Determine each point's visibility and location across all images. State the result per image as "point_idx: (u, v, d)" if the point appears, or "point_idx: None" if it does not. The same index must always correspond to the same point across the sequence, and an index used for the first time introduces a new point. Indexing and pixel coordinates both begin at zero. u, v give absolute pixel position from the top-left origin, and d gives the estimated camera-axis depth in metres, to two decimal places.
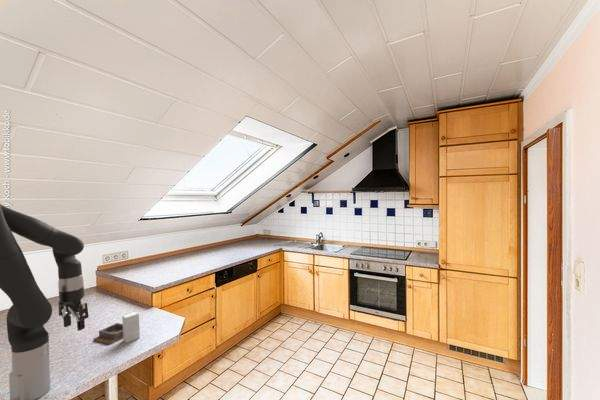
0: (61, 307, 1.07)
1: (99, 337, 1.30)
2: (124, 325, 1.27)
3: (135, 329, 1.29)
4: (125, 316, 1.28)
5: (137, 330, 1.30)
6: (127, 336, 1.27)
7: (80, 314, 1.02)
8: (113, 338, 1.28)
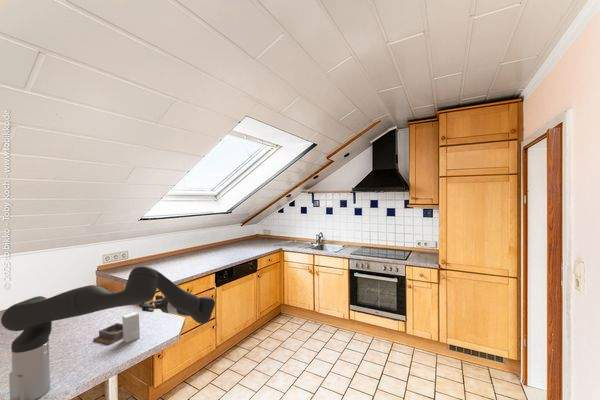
0: None
1: (99, 337, 1.30)
2: (124, 325, 1.27)
3: (135, 329, 1.29)
4: (125, 316, 1.28)
5: (137, 330, 1.30)
6: (127, 336, 1.27)
7: None
8: (113, 338, 1.28)
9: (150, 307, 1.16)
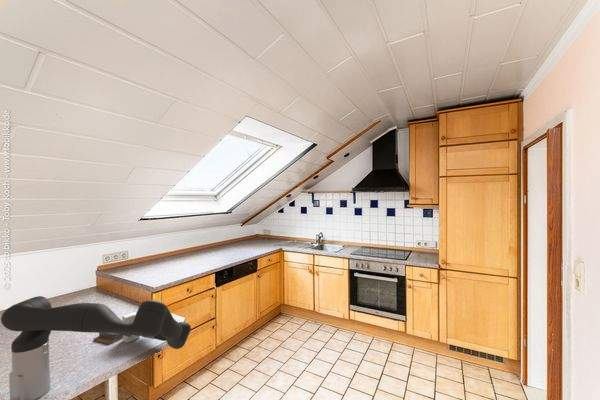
0: None
1: (99, 337, 1.30)
2: None
3: None
4: (125, 316, 1.28)
5: None
6: (127, 336, 1.27)
7: None
8: (113, 338, 1.28)
9: None
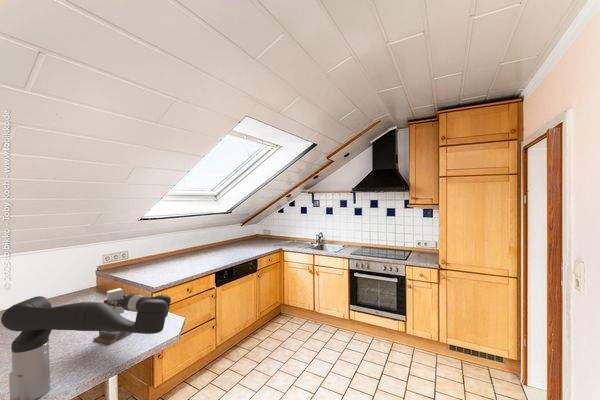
0: None
1: (99, 337, 1.30)
2: None
3: None
4: (109, 291, 1.32)
5: None
6: None
7: None
8: (113, 338, 1.28)
9: (111, 305, 1.25)
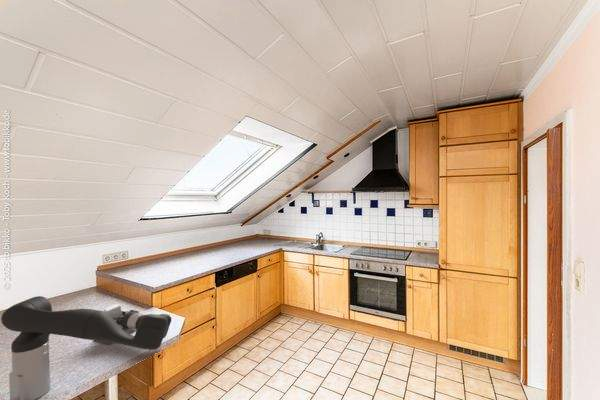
0: None
1: None
2: None
3: None
4: (107, 309, 1.30)
5: None
6: None
7: None
8: None
9: None
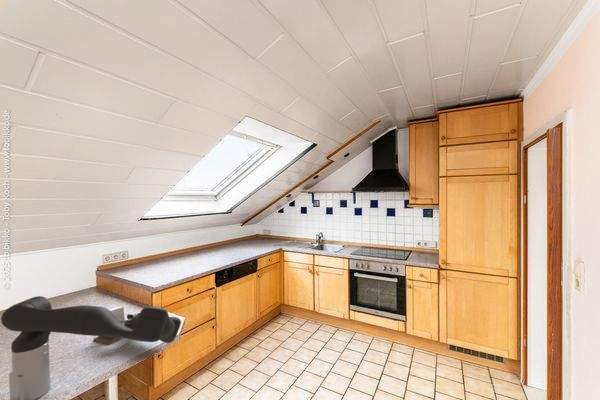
0: None
1: (99, 337, 1.30)
2: None
3: None
4: (110, 310, 1.33)
5: (123, 323, 1.35)
6: None
7: None
8: (113, 338, 1.28)
9: None
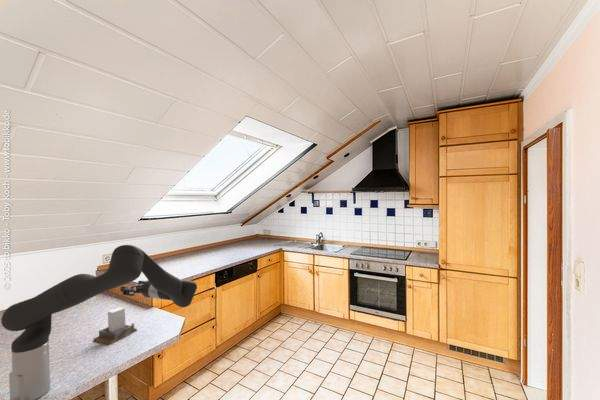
0: None
1: (99, 337, 1.30)
2: (110, 320, 1.31)
3: (121, 323, 1.34)
4: (111, 311, 1.32)
5: (123, 324, 1.35)
6: (114, 330, 1.31)
7: None
8: (113, 338, 1.28)
9: (131, 291, 1.14)
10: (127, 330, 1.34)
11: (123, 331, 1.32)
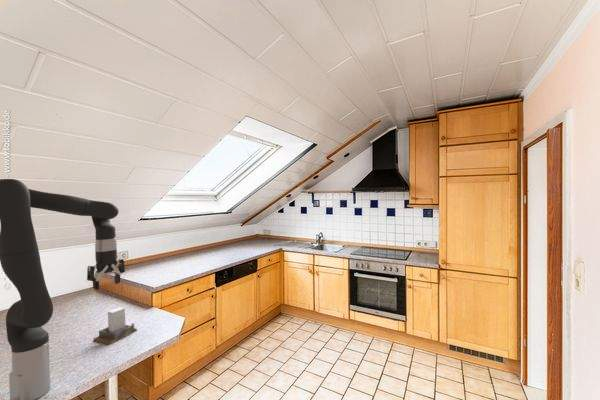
0: None
1: (99, 337, 1.30)
2: (110, 320, 1.31)
3: (121, 323, 1.34)
4: (111, 311, 1.32)
5: (123, 324, 1.35)
6: (114, 330, 1.31)
7: (123, 267, 1.22)
8: (113, 338, 1.28)
9: (88, 268, 1.10)
10: (127, 330, 1.34)
11: (123, 331, 1.32)
